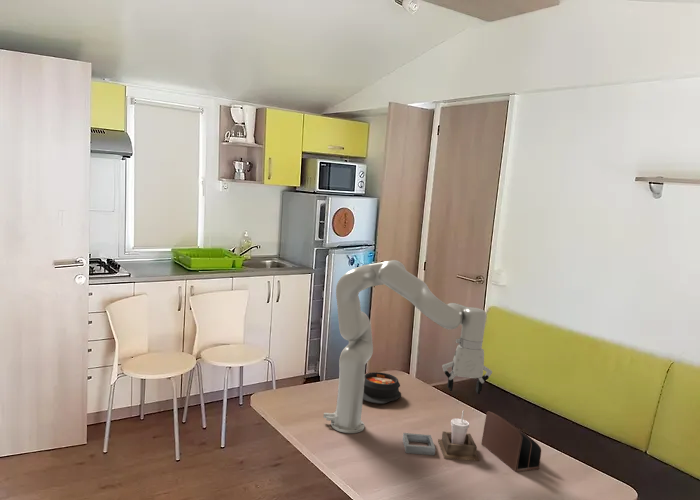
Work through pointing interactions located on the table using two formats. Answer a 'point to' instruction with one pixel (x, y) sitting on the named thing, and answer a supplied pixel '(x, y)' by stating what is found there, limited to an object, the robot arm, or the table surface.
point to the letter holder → (510, 444)
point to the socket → (458, 448)
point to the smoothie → (459, 430)
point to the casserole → (381, 388)
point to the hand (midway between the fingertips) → (463, 391)
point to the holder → (415, 448)
